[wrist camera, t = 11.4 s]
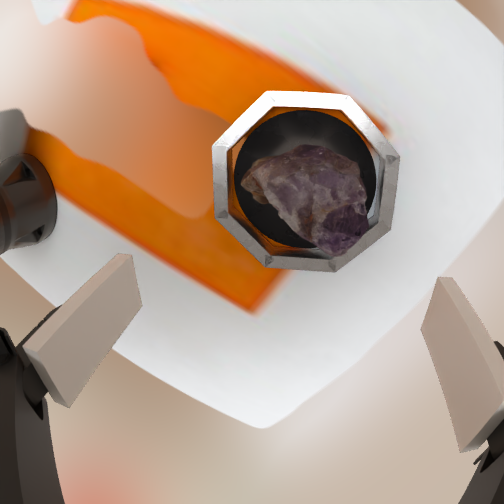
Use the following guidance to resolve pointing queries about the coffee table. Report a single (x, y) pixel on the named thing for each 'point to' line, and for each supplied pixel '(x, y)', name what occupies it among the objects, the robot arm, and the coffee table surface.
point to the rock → (313, 195)
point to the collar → (285, 139)
